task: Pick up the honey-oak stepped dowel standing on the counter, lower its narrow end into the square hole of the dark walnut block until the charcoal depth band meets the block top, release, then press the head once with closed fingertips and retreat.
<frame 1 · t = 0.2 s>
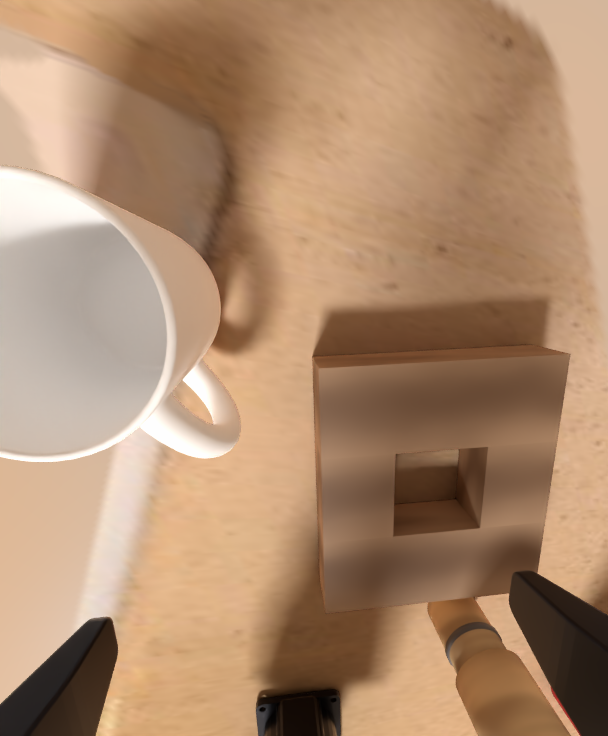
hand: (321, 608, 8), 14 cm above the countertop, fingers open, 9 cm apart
mug: (173, 329, 20), on the countertop
peg: (450, 605, 27), on the countertop
board: (419, 466, 24), on the countertop
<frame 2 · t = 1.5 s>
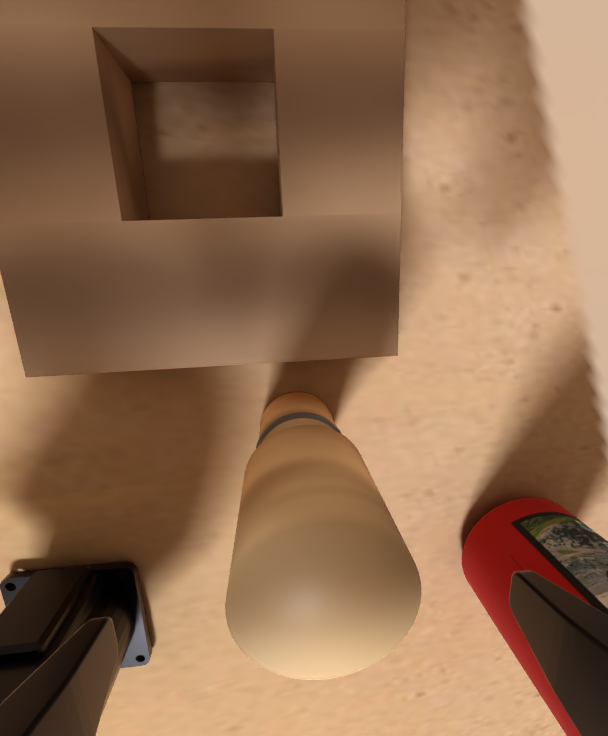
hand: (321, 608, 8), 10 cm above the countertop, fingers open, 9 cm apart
peg: (296, 426, 18), on the countertop
beverage can: (507, 537, 20), on the countertop
board: (210, 159, 14), on the countertop
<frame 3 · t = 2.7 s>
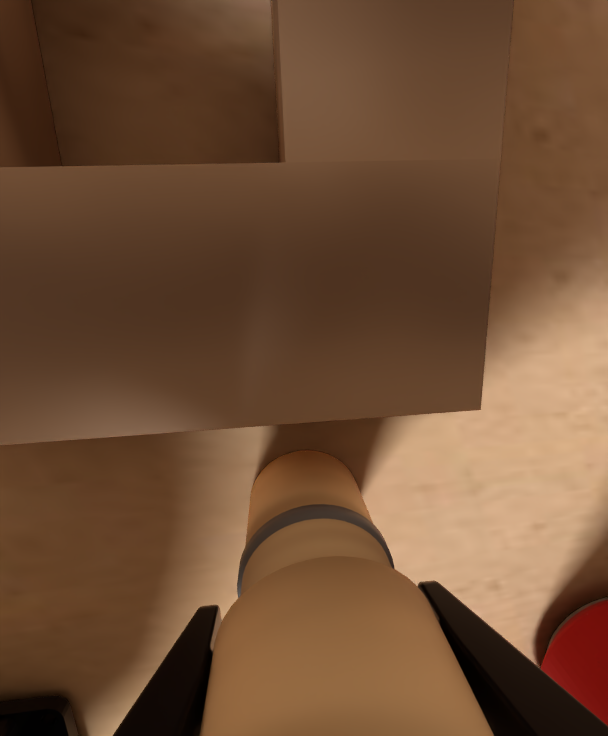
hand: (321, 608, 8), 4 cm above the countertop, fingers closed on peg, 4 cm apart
peg: (304, 499, 12), on the countertop, touching gripper
beverage can: (596, 639, 15), on the countertop
board: (163, 81, 9), on the countertop
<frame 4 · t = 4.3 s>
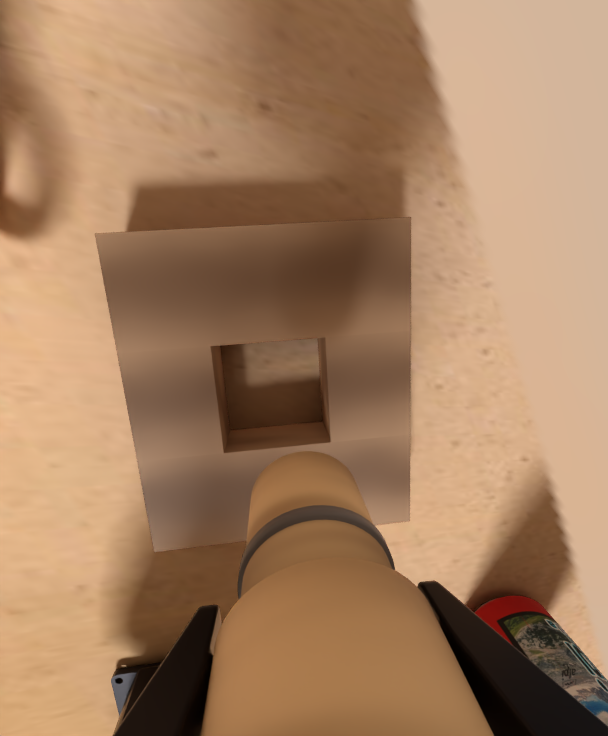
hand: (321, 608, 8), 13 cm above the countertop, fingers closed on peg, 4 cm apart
peg: (305, 500, 12), point 9 cm above the countertop, touching gripper
beverage can: (496, 621, 26), on the countertop
board: (272, 381, 20), on the countertop
when the fingers open (5 cm above the countertop, at t = 6.3 s): peg stays where it is, resting in board.
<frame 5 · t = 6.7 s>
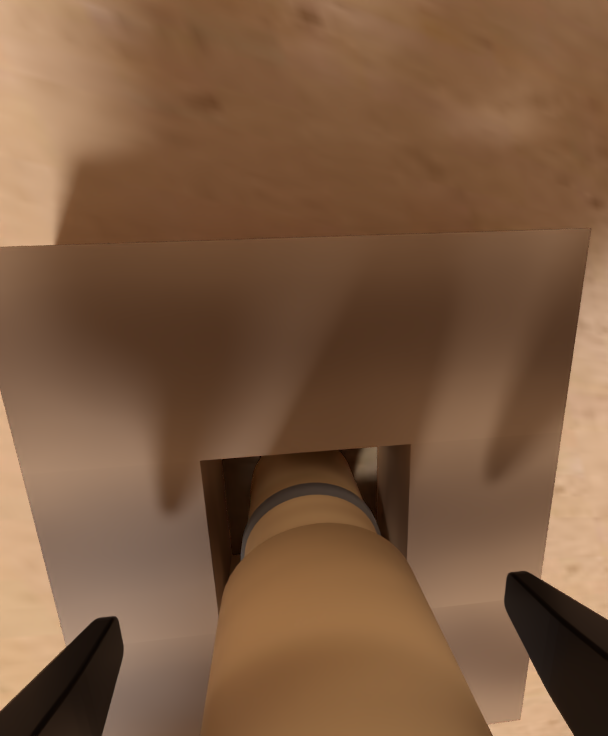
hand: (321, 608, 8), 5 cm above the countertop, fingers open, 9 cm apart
peg: (302, 483, 13), resting in board
board: (302, 483, 13), on the countertop
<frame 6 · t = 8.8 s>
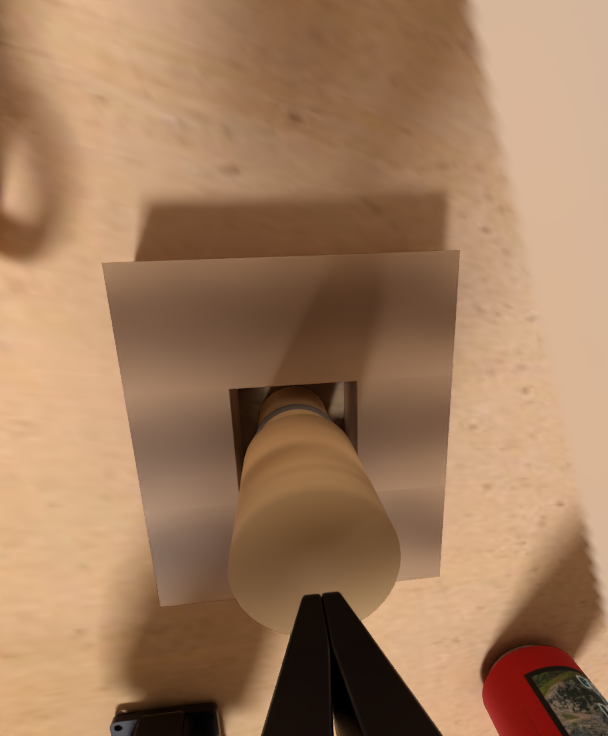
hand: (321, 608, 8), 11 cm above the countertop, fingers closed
peg: (292, 419, 19), resting in board
beverage can: (519, 669, 25), on the countertop
board: (293, 418, 19), on the countertop
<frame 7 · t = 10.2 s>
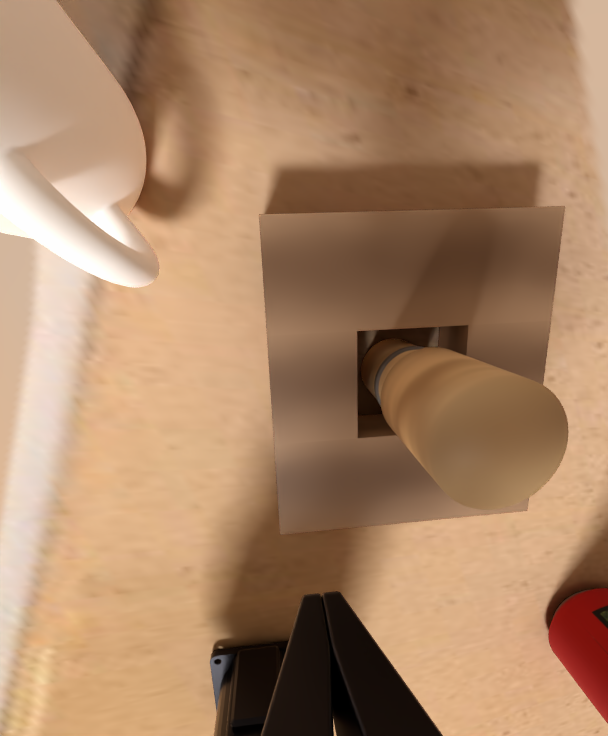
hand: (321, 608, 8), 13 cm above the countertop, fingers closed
mug: (93, 187, 17), on the countertop
peg: (391, 369, 20), resting in board
beverage can: (580, 613, 26), on the countertop
board: (391, 369, 20), on the countertop
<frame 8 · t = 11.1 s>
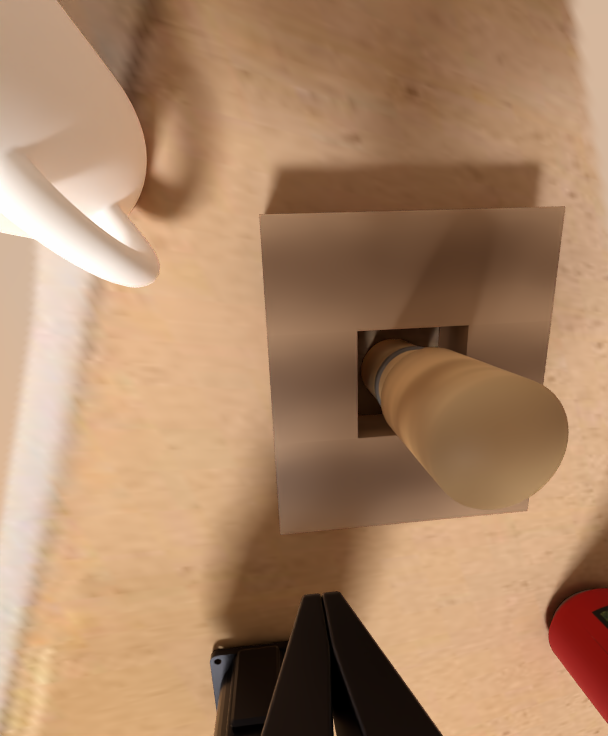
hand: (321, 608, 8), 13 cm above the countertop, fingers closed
mug: (93, 187, 17), on the countertop
peg: (391, 369, 20), resting in board
beverage can: (580, 613, 26), on the countertop
board: (391, 369, 20), on the countertop
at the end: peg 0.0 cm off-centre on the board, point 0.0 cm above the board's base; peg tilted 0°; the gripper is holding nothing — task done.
